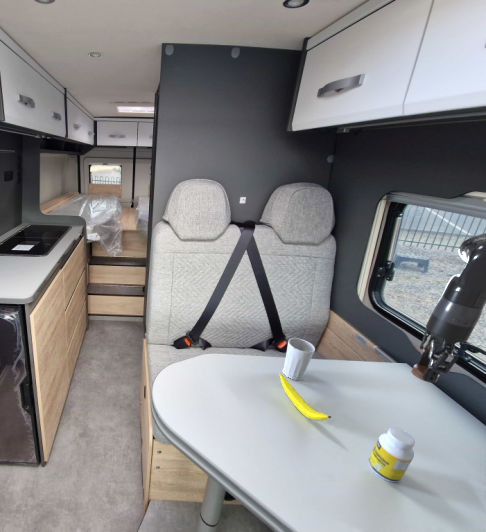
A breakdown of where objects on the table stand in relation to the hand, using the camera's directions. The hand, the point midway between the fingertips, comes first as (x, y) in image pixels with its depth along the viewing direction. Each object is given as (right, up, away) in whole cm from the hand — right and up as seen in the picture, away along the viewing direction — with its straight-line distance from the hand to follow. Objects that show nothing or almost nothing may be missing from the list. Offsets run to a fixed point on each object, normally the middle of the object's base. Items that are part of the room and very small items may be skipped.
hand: (424, 374), depth 80 cm
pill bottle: (-15, -22, -5) cm, 27 cm away
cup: (-21, -9, +26) cm, 35 cm away
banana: (-26, -14, +12) cm, 32 cm away
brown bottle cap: (0, -1, 0) cm, 1 cm away
